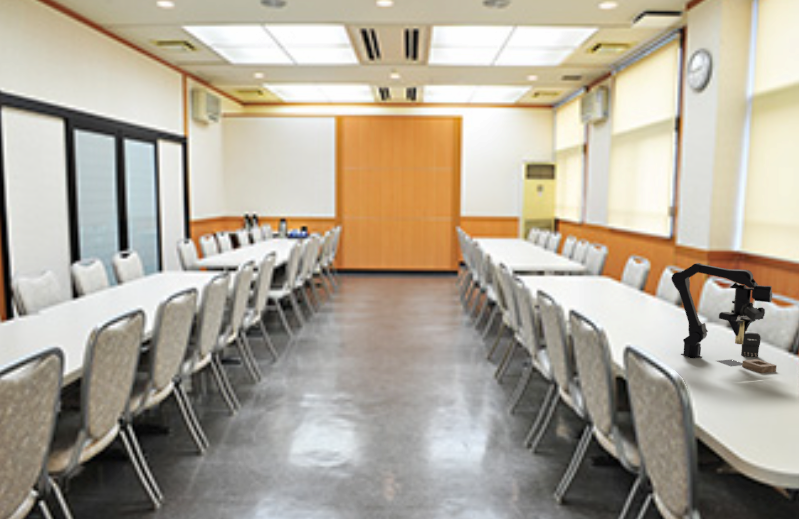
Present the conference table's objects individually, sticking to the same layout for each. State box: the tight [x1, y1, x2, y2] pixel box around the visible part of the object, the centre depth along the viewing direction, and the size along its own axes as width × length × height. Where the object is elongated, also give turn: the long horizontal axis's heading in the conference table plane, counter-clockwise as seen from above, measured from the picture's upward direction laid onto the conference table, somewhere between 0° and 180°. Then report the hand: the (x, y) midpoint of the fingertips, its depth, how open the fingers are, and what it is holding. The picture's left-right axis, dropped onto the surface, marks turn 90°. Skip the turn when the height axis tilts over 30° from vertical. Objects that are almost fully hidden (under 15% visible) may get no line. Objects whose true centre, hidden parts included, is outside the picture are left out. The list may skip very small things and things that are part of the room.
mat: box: [716, 359, 743, 367], centre depth 247 cm, size 9×8×1 cm
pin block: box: [741, 358, 777, 374], centre depth 239 cm, size 8×9×3 cm
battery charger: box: [740, 331, 762, 359], centre depth 257 cm, size 7×4×11 cm, turn 68°
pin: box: [734, 320, 745, 345], centre depth 244 cm, size 3×3×10 cm
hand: (739, 335), depth 244 cm, fingers closed on pin, 3 cm apart
